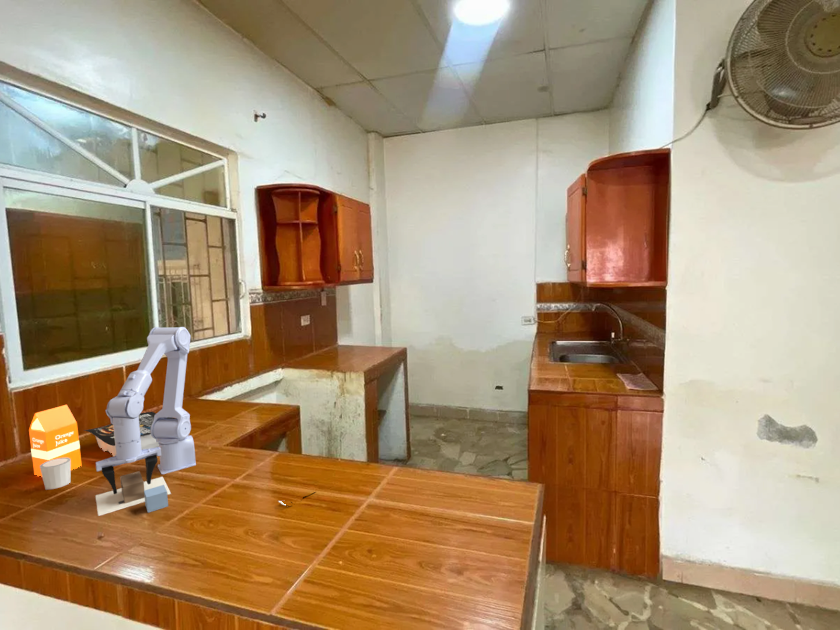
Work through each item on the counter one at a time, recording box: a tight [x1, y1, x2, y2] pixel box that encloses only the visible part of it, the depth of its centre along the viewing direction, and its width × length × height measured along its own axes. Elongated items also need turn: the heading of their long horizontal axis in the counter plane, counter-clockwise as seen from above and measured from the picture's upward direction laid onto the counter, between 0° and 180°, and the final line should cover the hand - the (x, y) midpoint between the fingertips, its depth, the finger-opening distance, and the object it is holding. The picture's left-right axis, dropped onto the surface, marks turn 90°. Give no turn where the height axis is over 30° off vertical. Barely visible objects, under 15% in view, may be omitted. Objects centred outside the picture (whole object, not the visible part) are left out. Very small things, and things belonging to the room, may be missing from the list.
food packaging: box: [83, 411, 177, 457], centre depth 151 cm, size 25×8×23 cm
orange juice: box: [28, 404, 83, 478], centre depth 131 cm, size 8×9×20 cm
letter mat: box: [95, 476, 172, 517], centre depth 116 cm, size 16×13×1 cm
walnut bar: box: [119, 470, 145, 503], centre depth 116 cm, size 4×8×4 cm, turn 40°
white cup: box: [40, 457, 72, 491], centre depth 123 cm, size 7×7×7 cm
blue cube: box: [144, 485, 169, 514], centre depth 110 cm, size 4×4×4 cm
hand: (132, 487), depth 116 cm, fingers open, 7 cm apart
